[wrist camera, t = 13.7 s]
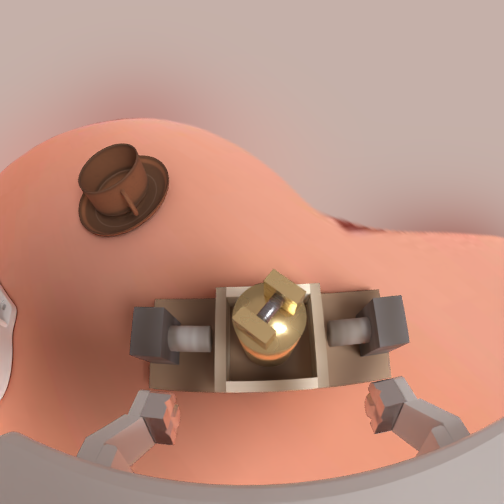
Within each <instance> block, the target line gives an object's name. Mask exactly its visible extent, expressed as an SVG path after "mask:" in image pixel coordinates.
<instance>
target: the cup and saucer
mask: <svg viewBox="0 0 504 504" xmlns="http://www.w3.org/2000/svg"><path fill="white" fill-rule="evenodd" d="M78 182H79V186H80V188H81V189H82V191H83V194H82V197H81V200H80V203H79V217H80V220H81V223H82V224H83V226H84V227H85V228H86V229H87V230H89V231H90V232H92V233H94V234H97V235H100V236H115V235H119V234H123V233H126V232H128V231H130V230H132V229H134V228H136V227H138V226H139V225H141V224H142V223H144V222H145V221H146V220H147V219H149V218H150V217H151V216H152V215H153V214H154V213H155V212H156V211H157V209H158V208H159V207H160V205H161V204H162V202H163V200H164V199H165V196H166V194H167V191H168V186H169V176H168V172H167V169H166V167H165V166H164V164H163V163H162V162H160V161H159V160H157V159H156V158H153V157H150V156H139V155H138V153H137V151H136V149H135V148H134V147H133V146H132V145H129V144H115V145H111V146H109V147H106V148H104V149H102V150H101V151H99V152H97V153H96V154H95V155H93V156H92V157H91V158H90V159H89V160H88V161H87V162H86V164H85V165H84V166H83V168H82V170H81V172H80V174H79V179H78Z"/></svg>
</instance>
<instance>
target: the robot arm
mask: <svg viewBox="0 0 504 504" xmlns="http://www.w3.org/2000/svg"><path fill="white" fill-rule="evenodd" d="M16 313H17V310H16V306H15V305H14V303H13V302H12V301H11V299H10V298H9V296H8V295H7V294H6V292H5V291H4V289H3V288H2V286H1V285H0V400H1V398H2V397H3V395H4V393H5V391H6V388H7V385H8V382H9V378H10V373H11V366H12V332H13V328H14V324H15V319H16ZM368 390H369V394H368V395H367V396H366V399H365V411H366V414H367V416H368V417H369V418H371V422H370V425H371V427H372V430H373V432H374V434H378V433H382V432H387V431H391V430H392V432H394V433H395V434H396V435H398V436H399V437H400V438H402V439H403V440H404V441H406V442H407V443H408V444H410V445H411V446H412V447H414V448H415V449H416V450H418V451H419V452H418V453H417V455H416V456H415V457H414V458H412V459H408V460H405V461H402V462H399V463H396V464H392V465H389V466H385V467H381V468H378V469H374V470H370V471H365V472H361V473H356V474H352V475H347V476H341V477H336V478H330V479H323V480H316V481H308V482H299V483H288V484H272V485H220V484H204V483H193V482H184V481H176V480H169V479H162V478H156V477H151V476H145V475H140V474H136V473H134V472H133V471H132V469H131V468H130V466H131V465H133V464H134V463H135V462H136V461H137V460H138V459H139V458H140V457H142V456H143V455H144V454H145V453H146V452H147V451H148V450H149V449H150V448H151V447H153V446H154V445H155V443H158V444H167V445H174V443H175V439H176V435H177V433H176V430H175V429H176V428H177V427H178V426H179V423H180V409H179V406H178V405H177V404H175V402H176V396H175V394H174V393H168V392H159V391H149V390H140V391H138V393H137V395H136V398H135V400H134V402H133V404H132V406H131V408H130V410H129V413H128V415H126V414H124V415H123V416H121V417H119V418H118V419H116V420H115V421H113V422H111V423H110V424H108V425H106V426H105V427H103V428H101V429H100V430H98V431H96V432H95V433H93V434H91V435H90V436H88V437H86V439H85V441H84V443H83V445H82V447H81V448H80V450H79V452H78V454H77V456H76V457H75V456H72V455H70V454H67V453H64V452H62V451H59V450H56V449H54V448H52V447H49V446H47V445H44V444H42V443H40V442H38V441H35V440H33V439H31V438H29V437H27V436H25V435H23V434H21V433H19V432H10V433H6V434H4V435H1V436H0V504H504V417H502V418H500V419H498V420H497V421H495V422H493V423H491V424H490V425H488V426H486V427H484V428H482V429H480V430H478V431H476V432H474V433H472V434H470V433H469V432H468V430H467V429H466V427H465V426H464V424H463V422H462V421H461V419H460V418H459V417H458V416H455V415H453V414H451V413H449V412H447V411H445V410H443V409H441V408H439V407H437V406H434V405H432V404H430V403H428V402H426V401H424V400H422V399H417V398H416V396H415V394H414V393H413V391H412V390H411V388H410V386H409V385H408V383H407V382H406V380H405V378H404V377H402V376H400V377H395V378H392V379H386V380H381V381H377V382H371V383H370V384H369V387H368Z"/></svg>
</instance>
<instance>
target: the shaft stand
mask: <svg viewBox="0 0 504 504" xmlns="http://www.w3.org/2000/svg"><path fill="white" fill-rule="evenodd" d="M296 285H298V286H299V287H301V288H302V289H304V290H305V291H306V294H305V297H304V300H303V303H304V306H305V309H306V315H307V318H306V326H305V329H304V331H303V333H302V335H301V337H300V339H299V341H298V342H297V344H296V346H295V348H294V349H293V351H292V353H291V355H290V356H289V358H288V359H287V360H286V361H285V362H284V363H282V364H280V365H278V366H275V367H261V366H258V365H256V364H255V363H253V362H252V361H251V360H250V359H249V358H248V357H247V355H246V353H245V351H244V349H243V347H242V345H241V343H240V340H239V338H238V336H237V334H236V332H235V330H234V326H233V321H232V314H233V309H234V306H235V303H236V301H237V300H238V298H239V297H240V295H241V294H242V293H243V292H244V291H246V290H247V289H248V288H250V287H252V286H249V287H219V288H216V298H215V299H155V305H154V307H134V313H133V322H132V332H131V343H130V355H131V356H134V357H137V358H139V359H142V360H145V361H148V362H150V377H149V388H152V389H161V390H173V391H188V392H212V393H257V392H281V391H296V390H308V389H319V388H328V387H336V386H344V385H351V384H358V383H364V382H370V381H376V380H381V379H386V378H391V369H390V360H389V352H390V351H392V350H394V349H396V348H399V347H401V346H403V345H405V344H407V343H409V335H408V329H407V323H406V317H405V312H404V306H403V301H402V296H401V295H399V296H390V297H380V294H379V289H378V290H367V291H354V292H341V293H327V294H321V291H320V283H313V284H296Z"/></svg>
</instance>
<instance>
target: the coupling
mask: <svg viewBox="0 0 504 504" xmlns="http://www.w3.org/2000/svg"><path fill="white" fill-rule="evenodd" d="M305 294H306V291H305V290H304V289H302V288H301V287H299V286H298V285H296V284H295V283H293V282H292V281H290V280H289V279H287V278H286V277H285V276H283V275H282V274H280V273H279V272H277V271H276V270H274V269H273V270H272V271H271V272H270V274H269V275H268V276H267V277H266V278H265V280H264V283H260V284H256V285H254V286H252V287H250V288H248V289H247V290H246V291H244V292H243V293H242V294H241V295H240V297H239V298H238V300H237V301H236V303H235V306H234V309H233V314H232V321H233V326H234V330H235V332H236V334H237V336H238V338H239V340H240V343H241V345H242V347H243V349H244V351H245V353H246V355H247V357H248V358H249V359H250V360H251V361H252V362H253V363H255V364H256V365H258V366H261V367H275V366H278V365H280V364H282V363H284V362H285V361H286V360H287V359H288V358H289V356H290V355H291V353H292V351H293V349H294V348H295V346H296V344H297V342H298V341H299V339H300V337H301V335H302V333H303V331H304V329H305V326H306V318H307V315H306V309H305V306H304V303H303V300H304V297H305Z"/></svg>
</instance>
